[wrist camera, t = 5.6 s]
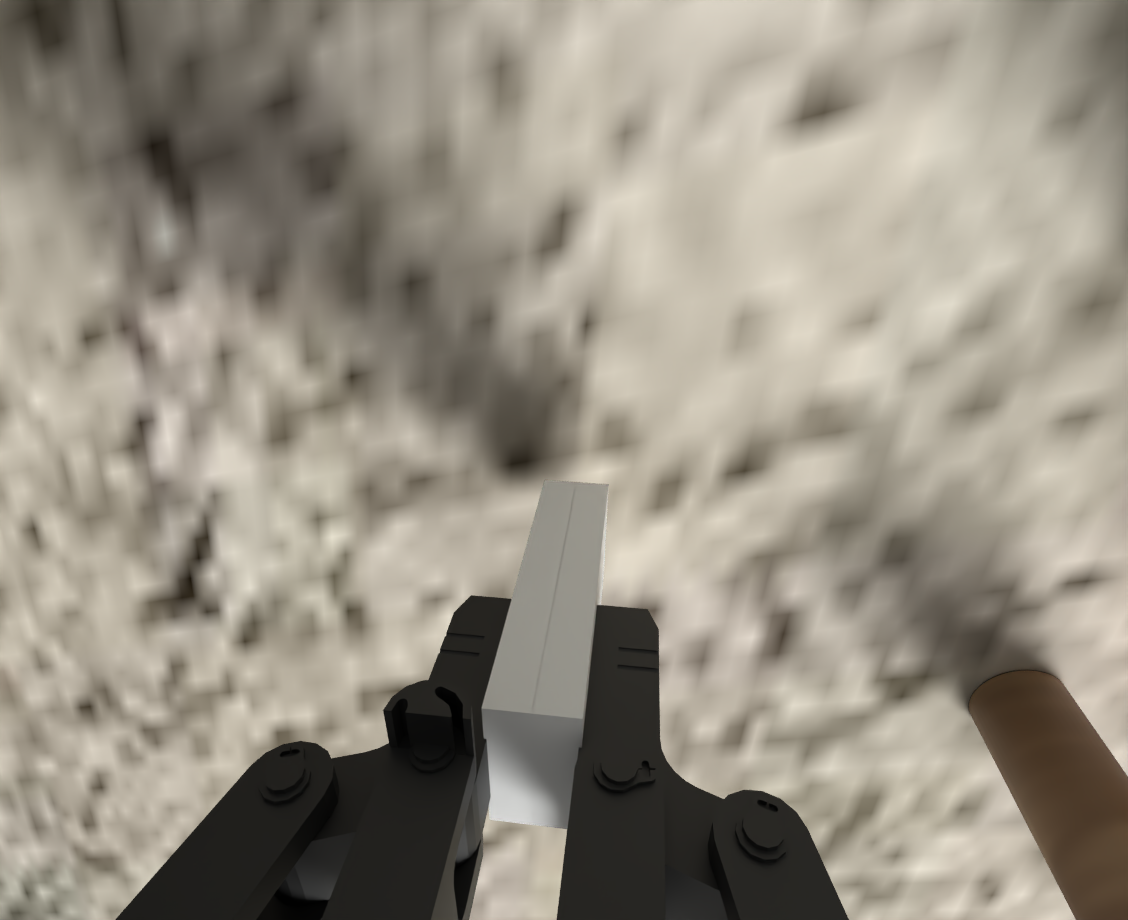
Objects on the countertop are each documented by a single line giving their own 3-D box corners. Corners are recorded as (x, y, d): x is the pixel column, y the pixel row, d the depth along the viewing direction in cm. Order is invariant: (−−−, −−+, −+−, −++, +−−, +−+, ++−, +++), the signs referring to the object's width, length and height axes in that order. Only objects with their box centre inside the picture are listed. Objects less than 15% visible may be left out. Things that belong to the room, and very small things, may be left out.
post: (985, 666, 19) (1222, 1075, 11) (1082, 675, 18) (1396, 1100, 11) (957, 727, 20) (1152, 1132, 12) (1047, 736, 20) (1306, 1155, 12)
